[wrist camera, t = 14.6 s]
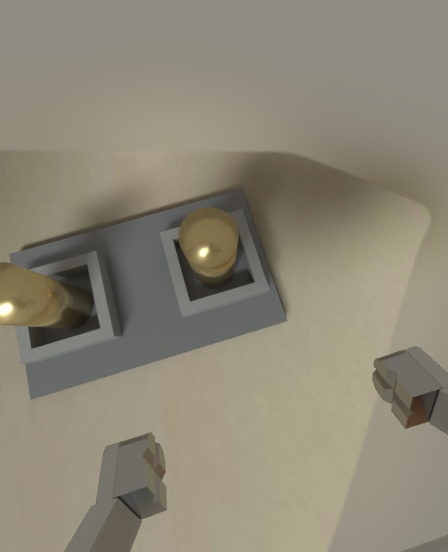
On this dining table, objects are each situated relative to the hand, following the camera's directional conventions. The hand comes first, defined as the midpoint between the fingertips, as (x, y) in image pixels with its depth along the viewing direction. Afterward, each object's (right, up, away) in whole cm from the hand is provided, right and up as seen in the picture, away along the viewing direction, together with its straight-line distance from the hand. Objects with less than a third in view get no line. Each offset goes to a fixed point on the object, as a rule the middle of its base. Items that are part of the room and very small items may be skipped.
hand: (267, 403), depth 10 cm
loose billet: (-3, +5, +18) cm, 19 cm away
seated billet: (-16, +2, +17) cm, 23 cm away
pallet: (-9, +3, +19) cm, 21 cm away
